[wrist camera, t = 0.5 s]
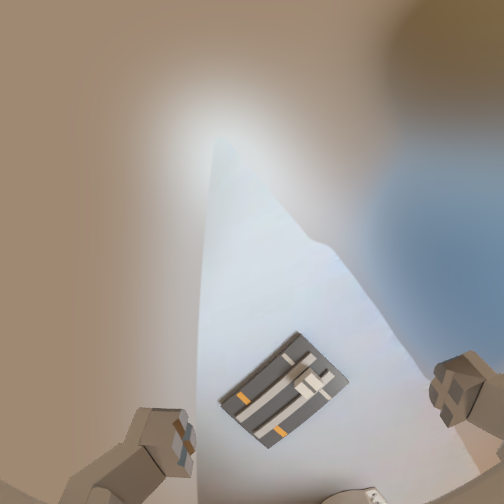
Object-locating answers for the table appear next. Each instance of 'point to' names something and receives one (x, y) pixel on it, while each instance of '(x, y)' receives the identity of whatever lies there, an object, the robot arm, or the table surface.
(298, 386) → the fader knob
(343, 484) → the table surface
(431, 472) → the table surface
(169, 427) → the robot arm
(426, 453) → the table surface
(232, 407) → the slider console
